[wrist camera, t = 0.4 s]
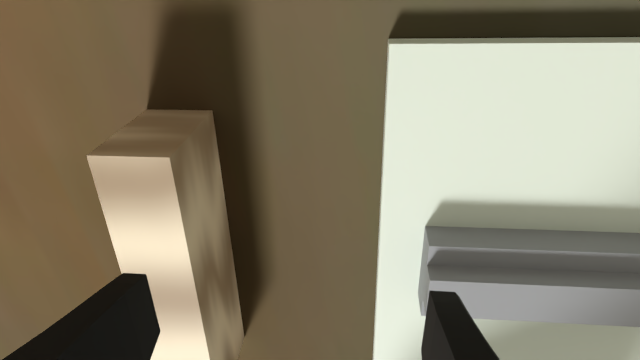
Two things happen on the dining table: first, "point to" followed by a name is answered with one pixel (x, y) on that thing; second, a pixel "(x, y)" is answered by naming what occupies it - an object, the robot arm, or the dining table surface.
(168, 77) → the dining table surface
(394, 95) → the fulcrum stand
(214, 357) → the beech rod
